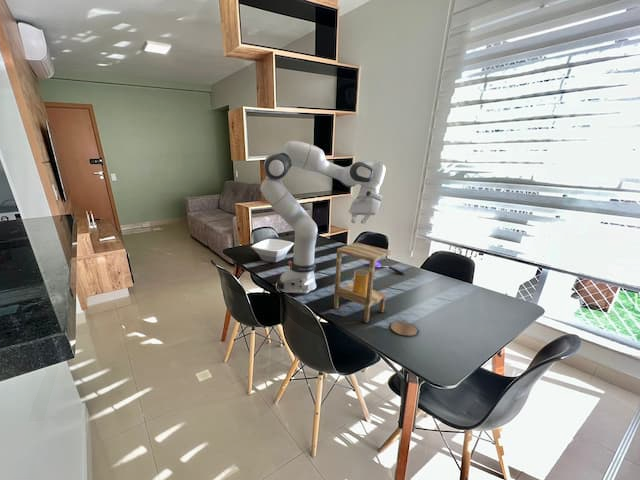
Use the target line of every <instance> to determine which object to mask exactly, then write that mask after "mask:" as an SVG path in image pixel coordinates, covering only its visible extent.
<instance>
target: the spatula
mask: <svg viewBox="0 0 640 480" xmlns="http://www.w3.org/2000/svg"><path fill="white" fill-rule="evenodd" d="M368 264H370V261H368ZM377 268H388V269H389V270H391V271H393V272H395V273H397V274H400V275H404V274H405V272H404V271H402V270H400V269H397V268H395V267H392V266H388V265H383V264H381V263H379V262H378V260H377V261H376V262H375V269H377Z"/></svg>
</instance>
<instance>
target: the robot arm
mask: <svg viewBox="0 0 640 480" xmlns="http://www.w3.org/2000/svg"><path fill="white" fill-rule="evenodd" d="M291 167H297V168H299V169H302V170H305V171H310V172H315V173H319V174H322V175H324V176H326V177H329V178H331V179H333V180H334V179H335V180H337V181H338V182H340V184H341V185H343V186H345V187H346V188H352V187H353V188H354V187H356V186H357V185H360V188H359V191H358V194H357V196H356V198H355V199H353V200H352V203H351V204H350V207H349V210H348V213H349V214H350V215H351V219H350V223H352V224H355V223H356V222H357V217H358V216H363V218H361V221H360V223H361V224H363V225H365V224H366V223H367V221H368V220H369V218H370V216H375V215H376V214H377V213H378V211H379V209H380V205H381V201H383V198H384V197H383V196H382V195H381V194H379V193H380V187H381V186H382V185H383V181H384V179H385V174H386V165H385V164H384V163H383V162H382V161H378V160H372V161H367V162H366V161H365V162H363V161H357V162H354V163H352V164H350V165H349V166H341V165H338V164H335V163H333V162H330V161H329V160H327V158H326V155H325V152H324V150H323V149H321V148H320V147H318V146H317V145H314V144H310V143H307V142H305V141H299V140H289V141H287V142H286V143H285V145H284V146H283V149H282V151H281V152H280V153H279V152H278V153H271V154H269V155H267V156H266V158H265V159H264V162H263V170H264V173H265V179H263V180H262V182H261V184H260V186H259V187H260V188H259V190H260V192H261V194H262V196H263V197H264V199H265V200H266V201H267V203H268V204H269V206H271V207H272V209H273V210H274V211H275V212H276V213H277V214H278V216H279V217H281V219H282V220H283V221H284V222H286V224H288V226H289V227H290V228H291V229H292V230H293V231H294V242H293V243H294V244H293V261H292V260H289V261H288V262H287V263H288V265H289V268H288V269H287V270H285V271H284V272H283V273H281V275H280V277H279V279H277V280H276V283H275V289H276V291H277V292H278V293H281V292H280V291H279V290H280V289H281V290H282V291H283V292H285V293H284V294H302V295H303V294H305V295H306V294H309V293H310V292H312V291H314V290H316V289H317V283H316V277H315V273H316V262H315V251H316V250H315V249H316V244H317V238H318V231H319V229H318V225H317V223H316V222H315V221H314V219H313V218H312V217H311V216H310V215H309V214H308V213H307V211H306V210H305V209H304V208H303V206H302V205H301V204H300V202H298V201H297V199H296V198H295V197H294V196H293V194H292V193H291V192H290V191H289V190H288V189H287V187H285V184H283V181H282V179H283V178H284V177H285V176H286V175H287V174H288V172H289V170H290V169H291Z"/></svg>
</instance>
